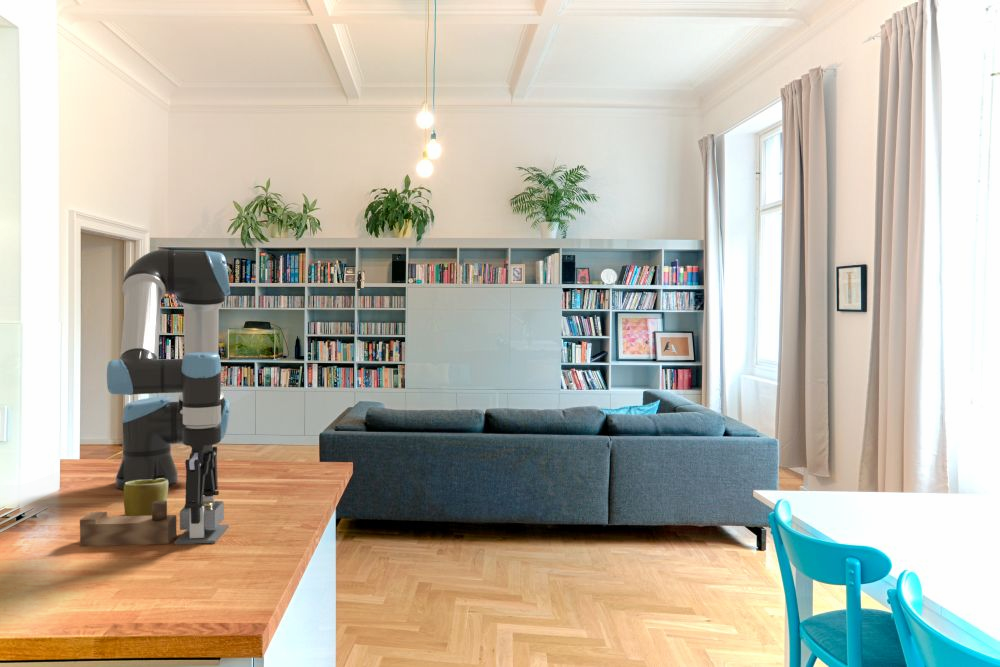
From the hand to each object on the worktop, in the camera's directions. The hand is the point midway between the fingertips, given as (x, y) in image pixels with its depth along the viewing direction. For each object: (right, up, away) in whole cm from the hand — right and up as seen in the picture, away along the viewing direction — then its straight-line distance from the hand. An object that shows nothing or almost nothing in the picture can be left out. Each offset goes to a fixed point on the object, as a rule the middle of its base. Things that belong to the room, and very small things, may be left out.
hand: (202, 531), depth 144 cm
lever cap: (0, +2, 0) cm, 2 cm away
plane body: (-14, -1, -4) cm, 14 cm away
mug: (-19, 0, +15) cm, 24 cm away
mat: (0, -1, 0) cm, 1 cm away
